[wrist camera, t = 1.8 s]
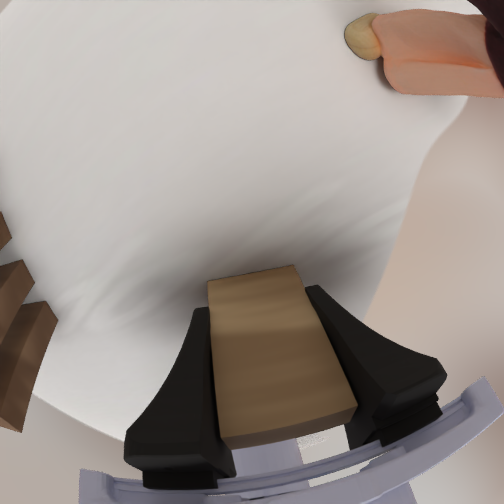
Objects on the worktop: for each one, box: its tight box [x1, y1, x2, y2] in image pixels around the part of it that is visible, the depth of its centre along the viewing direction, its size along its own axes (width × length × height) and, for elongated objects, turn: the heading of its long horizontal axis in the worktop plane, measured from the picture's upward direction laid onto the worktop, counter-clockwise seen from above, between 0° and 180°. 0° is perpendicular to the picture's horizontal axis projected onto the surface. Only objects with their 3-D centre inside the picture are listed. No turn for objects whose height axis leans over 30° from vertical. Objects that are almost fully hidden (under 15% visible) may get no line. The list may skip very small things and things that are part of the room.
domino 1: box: [207, 265, 358, 450], centre depth 11 cm, size 2×4×8 cm, turn 97°
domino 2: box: [0, 301, 58, 433], centre depth 10 cm, size 2×4×8 cm, turn 97°
